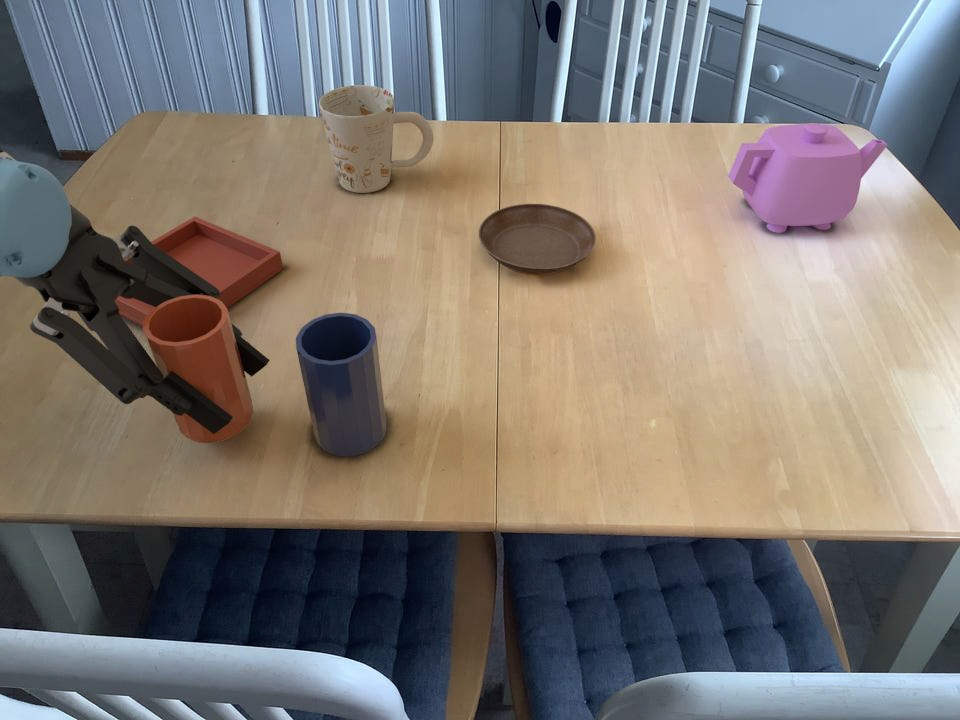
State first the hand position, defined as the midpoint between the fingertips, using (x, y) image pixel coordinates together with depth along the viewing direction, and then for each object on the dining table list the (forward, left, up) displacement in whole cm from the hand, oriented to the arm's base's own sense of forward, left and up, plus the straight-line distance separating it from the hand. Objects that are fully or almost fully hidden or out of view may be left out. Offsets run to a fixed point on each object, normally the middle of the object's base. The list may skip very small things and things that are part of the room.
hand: (242, 395), depth 72 cm
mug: (+47, +21, -6) cm, 52 cm away
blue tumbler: (+6, -7, -6) cm, 11 cm away
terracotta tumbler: (-1, +3, -4) cm, 5 cm away
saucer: (+43, -7, -6) cm, 44 cm away
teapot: (+70, -32, -6) cm, 77 cm away
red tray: (+14, +25, -6) cm, 29 cm away
